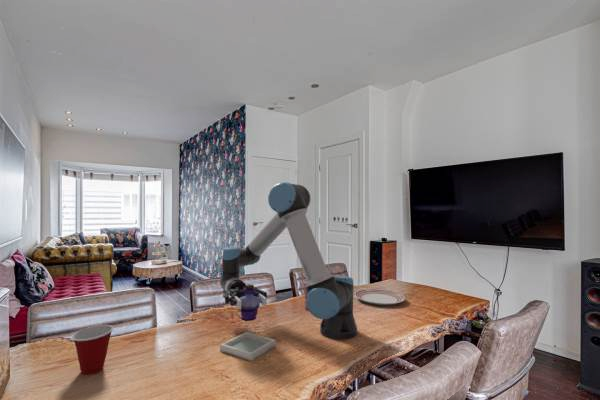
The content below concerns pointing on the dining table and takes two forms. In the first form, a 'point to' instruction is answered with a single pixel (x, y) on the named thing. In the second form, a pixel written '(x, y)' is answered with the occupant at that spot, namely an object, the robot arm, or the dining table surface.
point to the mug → (305, 296)
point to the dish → (248, 346)
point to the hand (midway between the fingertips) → (253, 303)
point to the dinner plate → (379, 296)
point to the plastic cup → (92, 347)
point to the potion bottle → (249, 304)
